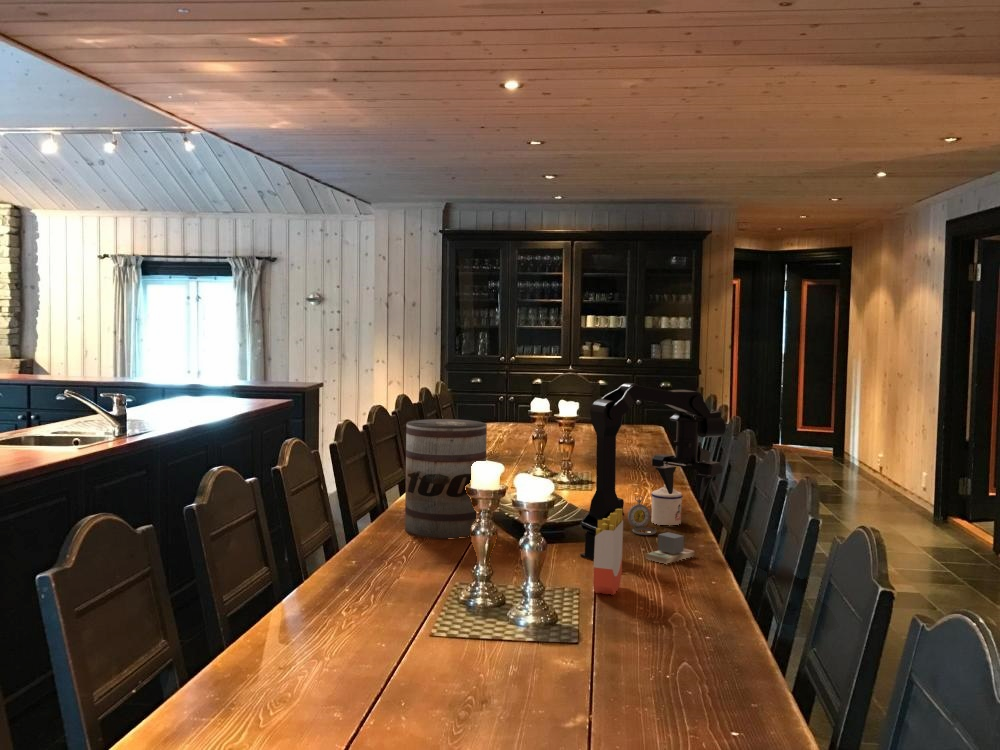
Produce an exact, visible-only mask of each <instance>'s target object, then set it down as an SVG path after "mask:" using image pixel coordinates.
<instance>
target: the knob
mask: <svg viewBox="0 0 1000 750" xmlns="http://www.w3.org/2000/svg"><path fill="white" fill-rule="evenodd" d="M684 544H685V536H684V535H680V534H678V533H673V532H669V531H667V532H663V533H659V534H657V551H659V550H660V551H663V552H667V553H671V554H676V553H680V552H683V550H684V548H685V545H684Z"/></svg>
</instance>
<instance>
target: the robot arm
mask: <svg viewBox="0 0 1000 750" xmlns="http://www.w3.org/2000/svg"><path fill="white" fill-rule="evenodd" d="M637 400H640V401H644V402H651V403H655V404H657V403H658V404H660V405H661V404H662V405H665V406H668V407H670V408H672V409H674V410H677V411H676V412H675V413H674V414H673V415H671V416H670V417H669V421H672V422H676V435H675V437H676V439H675V440H674V441H672V446H675V454H674V455H673V454H667V453H661V454H654V455H653V457H652V458H651V466H652V467H655V468H654V469H655V470H657V471H658V473H659V475H660V477H661V479H662V481H663V483H664V484H665V486H666V488H667V490H668V493H669V494H672V492H673V489H674V478H675V477H674V475H675V474H674V473H675V472H676V469H677V467H678V468H679V467H680V468H684V469H685V468H686V469H692V470H696V471H697V472H698V473H697V474H695V475H696V476H695V478H696V493H697V494H696V496H697V499H698V500H699V501H701V500H702V499H703V497H704V494H705V492H706V490H707V487H708V484H709V483H710V481H711V480H712V479H713V478H714V477H717V476H718V474H719V475H720V474H723V466H722V464H721V462H719V461H713V460H711V456H712V452H711V451H709V450H707V449H705V448H702V441H699V438H700V437H701V438H719V437H723V436H724V434H725V433H726V428H727V426H726V423H725V420H724V418H723V417H722V412H721V411H714V410H713V411H710V409H709V408H708V406H707V404H706V402H705V400H704V396H703V394H702V393H701V392H699V391H696V390H695V391H694V390H688V389H672V390H671V389H670V390H665V389H660V388H654V387H649V386H645V385H639V384H637V383H632V382H631V383H630V382H625V383H623V384H621V385H620V386H618V388H617V389H614V390H613V391H610V392H608V393H607V394H605V395H604V396H603V397H601V398H599V399H596V400H595V401H594V402H593V403H592V404H591V405H590V410H589V412H590V413H589V414H590V419H591V421H590V422H591V424H592V427H593V429H594V431H595V435H596V463H595V464H596V471H595V475H596V477H595V478H596V479H595V482H596V483H595V486H596V487H595V493H594V494H593V496H592V498H591V500H590V506H589V511H588V513H587V514H586V515H585V516H584V517H583V518H582V519H581V521H580V522H579V523H580V524H579V525H580V527H581V530H582V531H585V534H584V552H582V553H580V554H579V556H580V557H583V558H586V559H590V560H593V561H594V549H595V536H596V529H597V528H598V520H602V519H603V518H608V516H610V513H613V512H615V509H623V511H622V517H623V516H625V513H624V505H625V501H624V499H623V498H620V497H619V496H618V494H617V491H616V478H617V477H616V472H617V471H616V464H617V459H616V458H617V456H616V455H617V435H618V432H619V431H620V429H621V426H622V422H623V418H624V417H623V416H624V415H625V414H626V413H627V412H629V410H631V408H632V406H633V404H634V403H635V402H636V401H637ZM682 412H684V413H686V414H684V413H682ZM694 416H695V417H694Z"/></svg>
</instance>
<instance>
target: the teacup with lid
mask: <svg viewBox="0 0 1000 750" xmlns="http://www.w3.org/2000/svg"><path fill="white" fill-rule="evenodd" d="M651 497H652V498H651V517H650V518H651V521H650V522H651V523H652V524H653V523H654V525H656V524H657V525H656V526H660V525H669V526H668V527H671V526H670V525H678V526H680V525H681V524H682V503H683V502H682V500H683V494H682V492H680V491H678V490H676V489H675V488H673V492H672V494H669V493H668V490H667V488H666V486H665V483H664V485H663V486H662V487H660V488H659V489H655V490H653V491H652V492H651ZM679 524H680V525H679Z"/></svg>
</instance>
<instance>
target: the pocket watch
mask: <svg viewBox="0 0 1000 750" xmlns="http://www.w3.org/2000/svg"><path fill="white" fill-rule="evenodd" d="M638 497H640V498H642V499H640V498H638ZM637 498H638V499H637ZM634 500H635V501H636V502H637V504H635V505H633V506H631V507H630V509H629V511H628V512H627V514H628V515H627V519H628V522H629V524H630V525H631V526H633V528H632V532H633V533H634V534H636V535H639V536H640V535H641V536H653V535H655V534H656V533H657V529H655V528H652V527H644V526H646V525H647V524H648V522H649V520H650V518H651V517H650V515H651V513H650V510H649V508H648V507H647V506H646V505H644V504H641V503H642V501H644V497H643V496H642V495H636V496H635V498H634ZM639 530H645V531H651V533H644V532H637V531H639Z"/></svg>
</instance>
